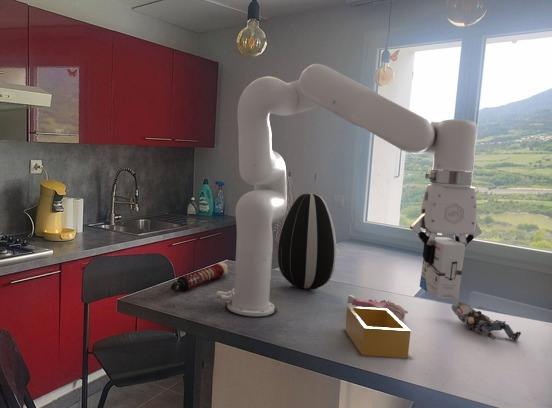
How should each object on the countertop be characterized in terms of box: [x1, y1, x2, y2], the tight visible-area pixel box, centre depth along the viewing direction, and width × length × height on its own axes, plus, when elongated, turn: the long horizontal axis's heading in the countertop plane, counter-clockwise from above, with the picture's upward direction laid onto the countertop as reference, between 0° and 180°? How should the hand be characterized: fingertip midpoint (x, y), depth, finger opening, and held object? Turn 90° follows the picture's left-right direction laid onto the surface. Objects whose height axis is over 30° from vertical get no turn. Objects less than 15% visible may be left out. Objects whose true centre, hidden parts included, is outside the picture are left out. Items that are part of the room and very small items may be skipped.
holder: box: [344, 306, 411, 359], centre depth 102 cm, size 10×14×6 cm
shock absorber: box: [170, 261, 229, 292], centre depth 142 cm, size 5×5×30 cm
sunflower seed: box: [277, 192, 338, 290], centre depth 142 cm, size 19×10×30 cm, turn 58°
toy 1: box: [346, 294, 409, 323], centre depth 120 cm, size 8×6×15 cm
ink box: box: [419, 236, 466, 300], centre depth 98 cm, size 9×5×12 cm, turn 178°
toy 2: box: [450, 299, 522, 342], centre depth 113 cm, size 7×11×15 cm
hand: (441, 262), depth 98 cm, fingers closed on ink box, 5 cm apart
